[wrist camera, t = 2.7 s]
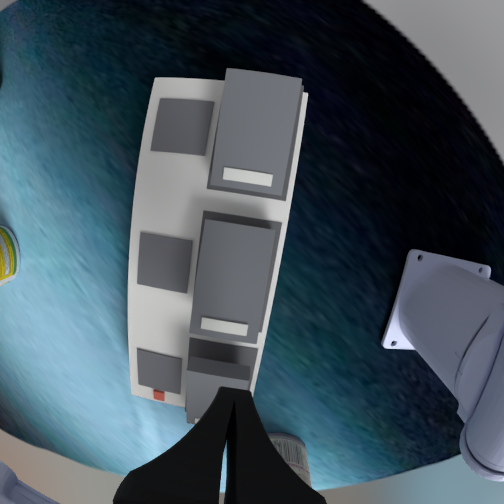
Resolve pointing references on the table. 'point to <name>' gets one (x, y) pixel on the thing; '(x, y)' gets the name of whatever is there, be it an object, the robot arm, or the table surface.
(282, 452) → the aerosol can
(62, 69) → the table surface
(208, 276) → the rocker
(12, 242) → the supplement bottle
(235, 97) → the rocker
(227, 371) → the rocker
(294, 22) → the table surface
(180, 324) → the power strip
